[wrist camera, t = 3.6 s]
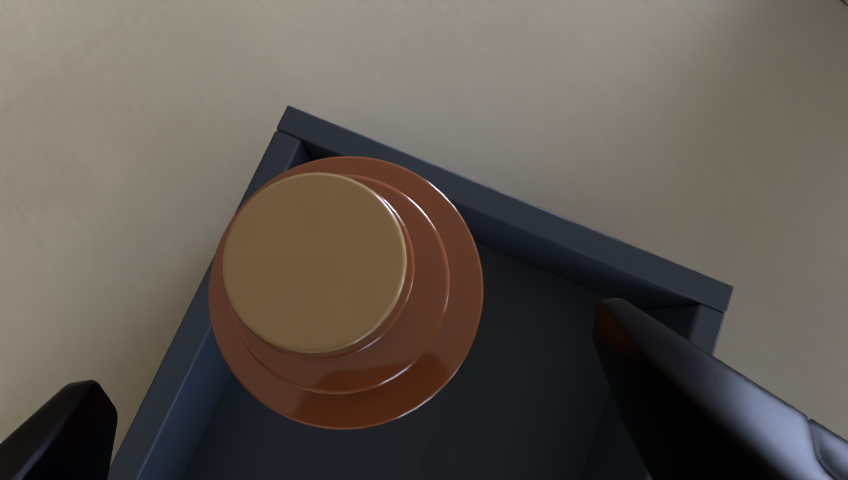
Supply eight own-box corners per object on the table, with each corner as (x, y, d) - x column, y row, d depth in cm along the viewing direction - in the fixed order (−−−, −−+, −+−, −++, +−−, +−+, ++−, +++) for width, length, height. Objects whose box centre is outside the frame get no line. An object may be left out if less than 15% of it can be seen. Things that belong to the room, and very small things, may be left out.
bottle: (411, 402, 17) (437, 574, 5) (280, 347, 18) (-3, 386, 5) (463, 270, 18) (593, 148, 6) (338, 219, 18) (211, -6, 6)
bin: (506, 761, 16) (545, 924, 12) (109, 587, 17) (3, 681, 12) (657, 296, 19) (735, 286, 15) (313, 156, 19) (287, 104, 15)
